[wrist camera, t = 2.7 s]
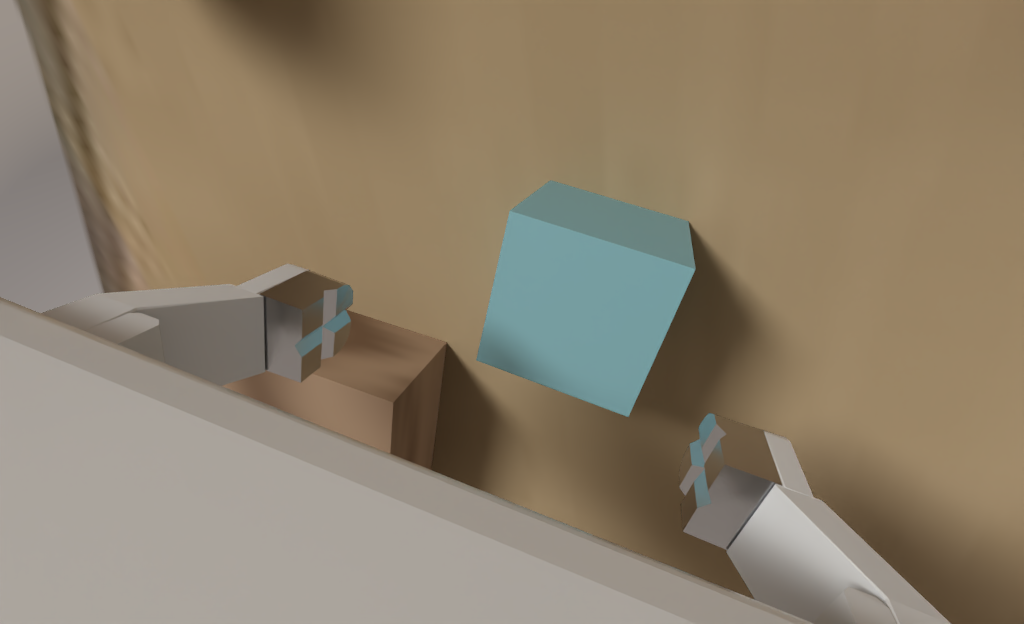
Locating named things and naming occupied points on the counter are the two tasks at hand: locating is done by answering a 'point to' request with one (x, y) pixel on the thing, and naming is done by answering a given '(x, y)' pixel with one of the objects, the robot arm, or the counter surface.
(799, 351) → the counter surface
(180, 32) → the counter surface
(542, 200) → the teal cube
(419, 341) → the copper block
